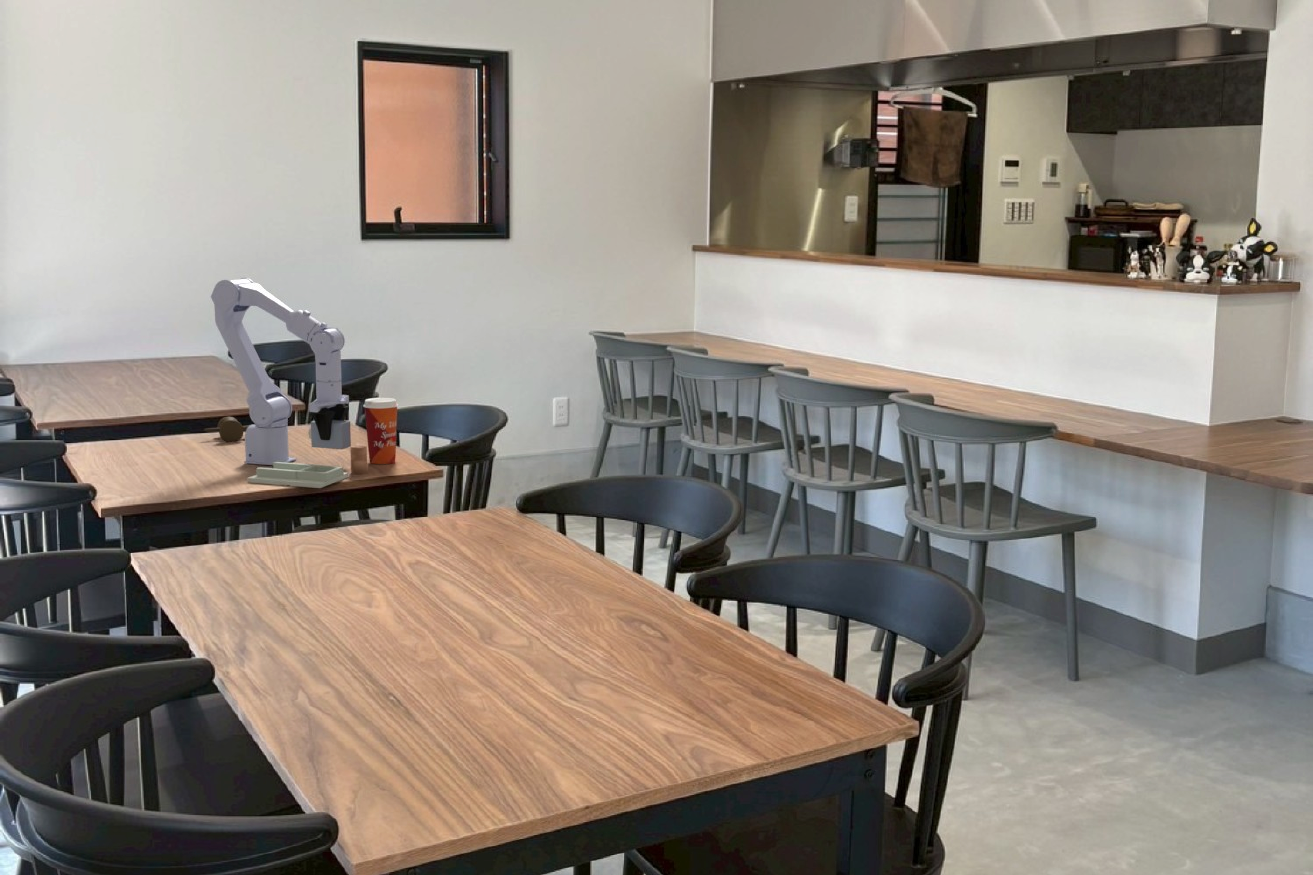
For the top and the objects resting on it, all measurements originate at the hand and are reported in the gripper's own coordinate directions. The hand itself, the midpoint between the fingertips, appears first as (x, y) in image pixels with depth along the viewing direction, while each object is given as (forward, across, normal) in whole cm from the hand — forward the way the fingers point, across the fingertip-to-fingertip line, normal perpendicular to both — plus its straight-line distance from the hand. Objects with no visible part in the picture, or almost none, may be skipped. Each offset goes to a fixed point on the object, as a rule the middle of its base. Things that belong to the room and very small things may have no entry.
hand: (330, 438), depth 300 cm
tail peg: (+6, -5, -10) cm, 13 cm away
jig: (+6, -16, -1) cm, 17 cm away
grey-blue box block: (+2, 0, 0) cm, 2 cm away
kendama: (+7, +24, +39) cm, 47 cm away
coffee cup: (+7, +8, -9) cm, 14 cm away
